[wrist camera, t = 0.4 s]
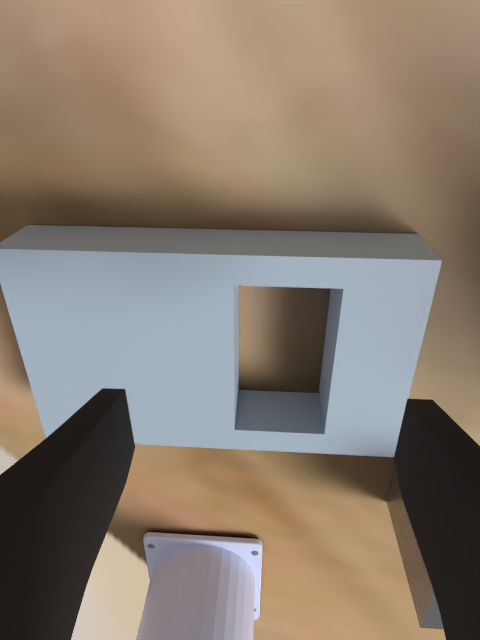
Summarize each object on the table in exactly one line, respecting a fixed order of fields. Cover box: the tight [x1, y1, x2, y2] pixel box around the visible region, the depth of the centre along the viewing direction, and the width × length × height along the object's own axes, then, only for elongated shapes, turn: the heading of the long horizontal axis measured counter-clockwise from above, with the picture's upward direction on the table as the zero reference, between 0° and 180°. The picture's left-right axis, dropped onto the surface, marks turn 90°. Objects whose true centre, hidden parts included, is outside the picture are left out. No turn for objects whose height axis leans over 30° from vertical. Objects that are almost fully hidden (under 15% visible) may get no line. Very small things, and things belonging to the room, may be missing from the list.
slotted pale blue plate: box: [0, 225, 442, 457], centre depth 20 cm, size 10×17×3 cm, turn 90°
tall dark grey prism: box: [387, 468, 444, 629], centre depth 22 cm, size 6×3×7 cm, turn 0°
